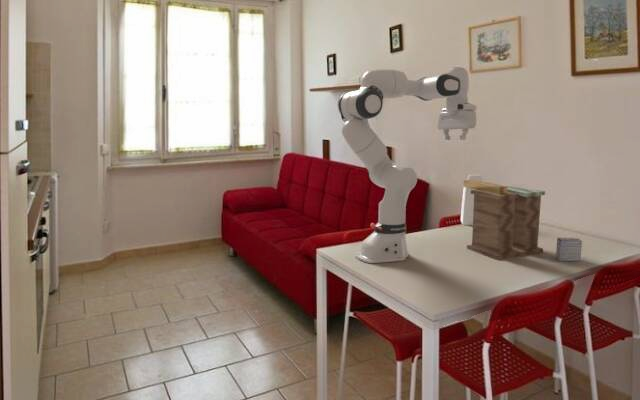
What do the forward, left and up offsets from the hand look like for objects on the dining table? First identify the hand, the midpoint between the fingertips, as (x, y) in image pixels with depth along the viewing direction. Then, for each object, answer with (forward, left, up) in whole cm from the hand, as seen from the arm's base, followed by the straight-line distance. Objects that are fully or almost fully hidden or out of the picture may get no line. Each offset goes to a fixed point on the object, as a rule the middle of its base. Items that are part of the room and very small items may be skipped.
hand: (454, 139), depth 203 cm
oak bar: (+9, -9, -21) cm, 25 cm away
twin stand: (+16, -15, -47) cm, 52 cm away
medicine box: (+29, -36, -48) cm, 66 cm away
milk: (+39, +32, -48) cm, 70 cm away
